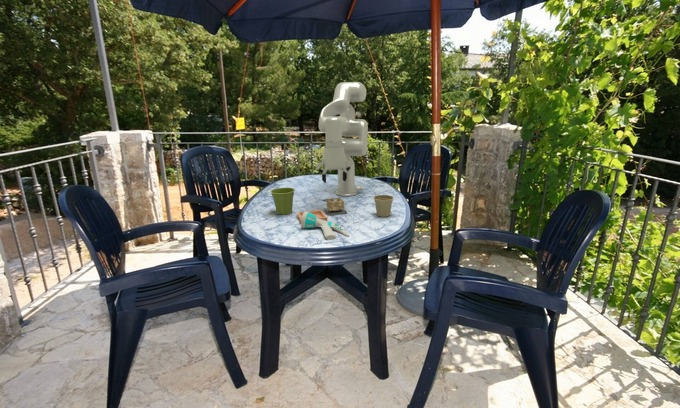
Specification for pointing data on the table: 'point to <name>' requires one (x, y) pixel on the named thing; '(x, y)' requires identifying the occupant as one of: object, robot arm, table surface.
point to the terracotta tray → (317, 213)
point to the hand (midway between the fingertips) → (334, 181)
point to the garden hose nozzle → (312, 221)
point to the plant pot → (283, 200)
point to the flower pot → (383, 205)
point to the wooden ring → (335, 204)
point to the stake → (335, 212)
